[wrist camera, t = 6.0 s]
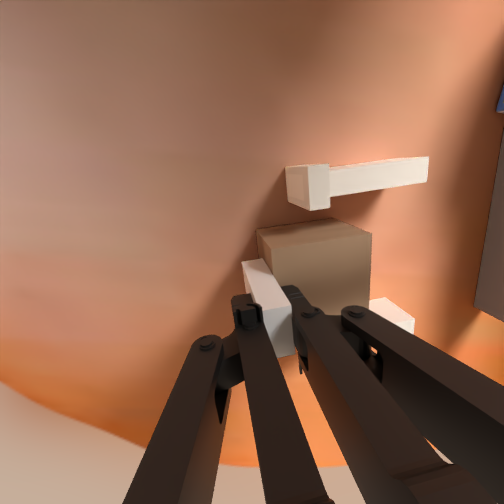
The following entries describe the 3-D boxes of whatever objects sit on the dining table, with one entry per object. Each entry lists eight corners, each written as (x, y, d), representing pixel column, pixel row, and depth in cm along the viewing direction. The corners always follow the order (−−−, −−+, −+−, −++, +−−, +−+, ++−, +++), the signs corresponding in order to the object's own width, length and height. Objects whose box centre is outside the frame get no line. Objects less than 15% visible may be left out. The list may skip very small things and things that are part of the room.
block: (255, 229, 19) (271, 249, 14) (332, 218, 20) (371, 233, 15) (263, 301, 21) (279, 339, 16) (333, 288, 22) (368, 322, 17)
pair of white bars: (285, 167, 18) (307, 166, 14) (391, 152, 19) (442, 147, 15) (298, 334, 22) (319, 371, 18) (384, 316, 23) (422, 347, 19)
